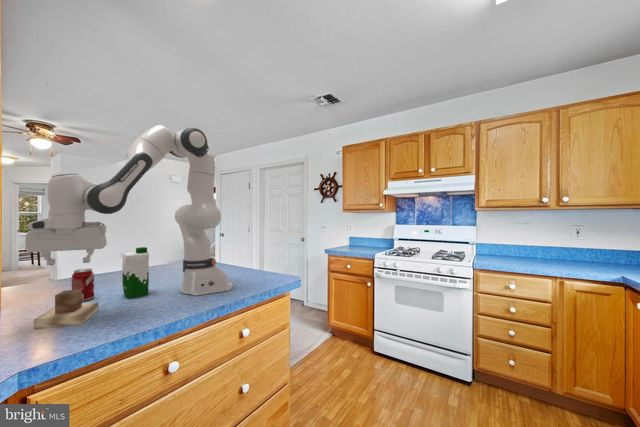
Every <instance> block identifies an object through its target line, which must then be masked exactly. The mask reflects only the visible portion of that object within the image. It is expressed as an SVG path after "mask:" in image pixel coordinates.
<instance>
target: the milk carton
mask: <svg viewBox="0 0 640 427" xmlns="http://www.w3.org/2000/svg"><path fill="white" fill-rule="evenodd" d="M149 260H150V253H149V252H148V247H146V246H143V247H136V248H135V251H130V252H127V253H126V252H124V253H122V265H121V268H122V271H121V272H122V277H121V278H122V281H121V282H122V291H123V295H124V296H125V298H127V299H128V300H130V299H133V298H134V299H135V298H140V297H144V296H148V295H149V284H150V279H149V278H150V276H149V274H150V272H149V269H150V268H149V267H150V266H149V265H150V264H149Z"/></svg>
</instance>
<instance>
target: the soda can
mask: <svg viewBox="0 0 640 427" xmlns="http://www.w3.org/2000/svg"><path fill="white" fill-rule="evenodd" d="M80 289H82V302H86V301H87V302H88V301H90V300H92V299H93V298H95V273H94V271H93V269H92V268H80V269H75V270H73V274H72V275H71V290H80Z"/></svg>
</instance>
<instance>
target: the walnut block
mask: <svg viewBox="0 0 640 427" xmlns="http://www.w3.org/2000/svg"><path fill="white" fill-rule="evenodd" d="M54 307H55V314H58V313H68V312H75V311H76V310H78V309H79V308H80V307H82V289H80V290H72V289H69V290H67V289H66V290H62V291H61V292H59V293H57V294H55V295H54Z"/></svg>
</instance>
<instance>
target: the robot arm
mask: <svg viewBox="0 0 640 427" xmlns="http://www.w3.org/2000/svg"><path fill="white" fill-rule="evenodd" d="M167 154H170V155H173V156H175V157H177V158H187V159H188V162H189V167H188V168H189V170H188V177H187V185H186V189H187V192H188V194H189V195H190V199H191V204H185V205H182V206H180V207H178V208H177V209H176V210H175V213H174V220H175V222H176V223H177V224H178V227H179V228H180V232H181V237H182V239H183V240H182V241H183V260H182V273H183V274H182V275H183V276H182V281H181V286H180V288H179V292H180V293H181V294H186V295H191V296H201V295H202V296H203V295H208V294H215V293H222V292H229V291H230V290H232V289H233V288H234V285H233V282H232V281H231V280H230V281H229V279H228V275H227V273H226V272H225V271H224V270H223V269H221V268H219V267H218V266H216V265H217V260H216V259H215V258H213V257H211V251H212V250H211V249H212V248H211V240H210V239H209V237H208V236H207V233H206V230H209V229H210V230H211V229H213V228H216V227H218V225H220V223H221V220H222V213H221V211H220V209H219V208H218V207H217V204H216V201H215V196H214V195H215V194H214V193H215V192H214V188H215V179H216V161H215V156H214V154H212V153H211V152H209V145H208V139H207V136H206V134H205V133H204V132H203V131H202V129H199V128H195V127H187V128H185V129H182V130H179V131H177V132H174V131H172V130H170V128H169V127H166V126H165V125H162V124H157V125H154V126H151V128H149V129H147V130H145V131H144V132H143V133H142V134H141V135H139V136H138V137H137V138H136V139H135V140H134V141H133V142H132V143H131V145H130V146H129V147H128V149H127V151H126V157H127V161H126V163H125V164H124V165H123V166H122V167H121V168H120V169H119V171H117V173H115V175H114V176H112V177H111V178H110V179H109V180H107V181H105V182H102V183H97V182H95V181H93V180H90V179H87V178H85V177H83V176H82V175H81V174H79V173H62V174H56V175H54V176H52V177H50V179H49V180H48V184H47V202H48V204H49V210H48V213H47V214H48V215H47V216H48V217H46V218H43V219H40V220H35V221H31V222H28V224H27V228H28V229H29V230H28V231H27V233H26V234H25V241H24V242H25V244H24V246H25V250H26V251H27V252H28V253H41V254H40V256H41V257H43V259H44V260H45V261H46V266H54V265H55V264H56V258H52V257H51V255H50V254H51V252H63V251H65V252H67V251H68V252H69V251H84V250H85V252H86V256H85V257H82V263H83V264H87V263H88V264H89V263H91V258H92V256H93V255H94V252H95V250H102V249H104V248H105V247H106V246H107V244H108V243H107V235H106V233H107V227H106V225H105V223H103V222H100V221H94V222H93V221H86V211H88V210H89V211H92V212H97V213H100V214H103V215H112V214H115V213H118V212H119V211H120V210H122V209H123V208H124V206H125V205H126V202H127V199H128V196H129V193H130V191H131V190H132V189H133V188H134V186H135V185H136V184H137V183H138V182H139V180H141V178H143V176H144V175H146V173H147V172H149V171H150V170H151V169H153V168H154V167H155V166H156V165H158V164H159V163H160V162H161V161H162V160H163V159H164V158H165V157H166V156H167Z"/></svg>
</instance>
